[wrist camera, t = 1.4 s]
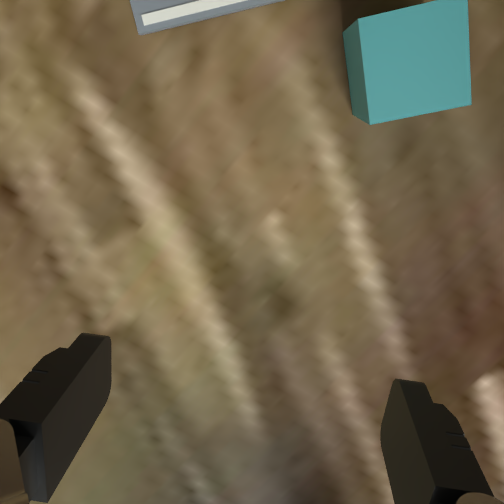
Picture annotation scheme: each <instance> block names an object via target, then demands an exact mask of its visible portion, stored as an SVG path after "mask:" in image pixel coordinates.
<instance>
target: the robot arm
mask: <svg viewBox="0 0 504 504" xmlns="http://www.w3.org/2000/svg"><path fill="white" fill-rule="evenodd" d="M110 389H111V339H110V337H109V336H103V335H96V334H89V333H81V334H80V335H79V336H78V337H77V339H76V340H75V341H74V342H73V343H72V344H71V346H70V347H69V348H68V349H67V348H58V349H56V350H55V351H53V352H51V353H49V354H47V355H46V356H44V357H43V358H42V359H41V360H40V361H39V362H38V363H37V364H36V365H35V366H34V367H33V369H32V371H31V372H29V373H28V374H27V375H26V376H25V377H24V378H23V381H22V382H20V383H19V384H18V385H17V386H16V387H15V388H14V389H13V391H12V392H11V393H10V394H9V395H8V396H7V397H6V398H5V399H4V400H3V402H2V403H1V404H0V504H29V502H30V501H31V500H33V501H39V502H45V503H48V501H49V499H50V498H51V496H52V494H53V493H54V491H55V489H56V488H57V486H58V484H59V482H60V481H61V479H62V477H63V476H64V474H65V472H66V470H67V469H68V467H69V465H70V464H71V462H72V460H73V459H74V457H75V455H76V453H77V452H78V450H79V448H80V447H81V445H82V443H83V441H84V440H85V438H86V436H87V435H88V433H89V431H90V430H91V428H92V426H93V424H94V423H95V421H96V419H97V418H98V416H99V414H100V413H101V411H102V409H103V407H104V406H105V404H106V402H107V399H108V396H109V393H110ZM381 447H382V452H383V456H384V460H385V464H386V469H387V473H388V477H389V481H390V486H391V490H392V494H393V499H394V503H395V504H504V502H502V501H500V500H499V499H497V498H495V497H494V495H493V493H492V491H491V489H490V487H489V485H488V483H487V481H486V479H485V476H484V474H483V472H482V470H481V468H480V466H479V464H478V462H477V460H476V458H475V455H474V453H473V451H471V447H470V445H469V443H468V441H467V439H466V438H465V437H464V432H463V430H462V428H461V426H460V424H459V422H458V420H457V418H456V417H455V416H454V415H453V414H452V413H451V412H450V411H449V410H448V409H447V408H446V407H445V406H444V405H443V404H437V403H433V401H432V399H431V397H430V394H429V392H428V390H427V387H426V385H425V384H424V383H422V382H416V381H409V380H402V379H395V380H394V381H393V384H392V387H391V390H390V394H389V398H388V402H387V405H386V409H385V413H384V417H383V420H382V425H381Z"/></svg>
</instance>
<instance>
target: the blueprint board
mask: <svg viewBox="0 0 504 504" xmlns="http://www.w3.org/2000/svg"><path fill="white" fill-rule="evenodd" d="M280 1H284V0H130V3H131V7H132V11H133V14H134V18H135V22H136V26H137V30H138V33H139V35H145V34H149V33H153V32H157V31H161V30H165V29H169V28H174V27H178V26H182V25H186V24H190V23H194V22H198V21H202V20H206V19H210V18H214V17H218V16H223V15H227V14H231V13H235V12H239V11H243V10H247V9H251V8H255V7H259V6H263V5H267V4H272V3H276V2H280Z"/></svg>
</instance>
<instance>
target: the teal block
mask: <svg viewBox="0 0 504 504" xmlns="http://www.w3.org/2000/svg"><path fill="white" fill-rule="evenodd" d="M343 40H344V48H345V56H346V65H347V73H348V81H349V89H350V97H351V105H352V113H353V115H354V116H356V117H357V118H359V119H361V120H363V121H364V122H366V123H368V124H369V125H371V124H377V123H382V122H387V121H392V120H397V119H402V118H407V117H412V116H417V115H422V114H427V113H432V112H437V111H442V110H447V109H452V108H457V107H462V106H467V105H472V104H471V77H470V51H469V25H468V0H436V1H432V2H428V3H423V4H419V5H415V6H410V7H406V8H402V9H397V10H393V11H389V12H385V13H380V14H376V15H372V16H367V17H363V18H359V19H357V20H356V21H355V22H354V23H353V24H351V25H350V26H349V27H348V28H347V29H346V30H345V31H344V32H343Z"/></svg>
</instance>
